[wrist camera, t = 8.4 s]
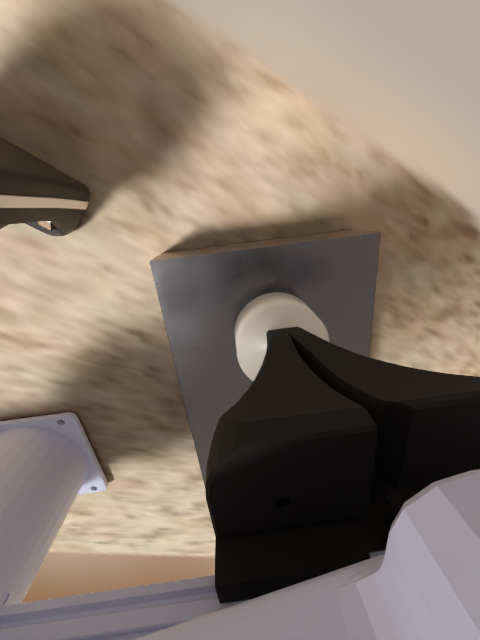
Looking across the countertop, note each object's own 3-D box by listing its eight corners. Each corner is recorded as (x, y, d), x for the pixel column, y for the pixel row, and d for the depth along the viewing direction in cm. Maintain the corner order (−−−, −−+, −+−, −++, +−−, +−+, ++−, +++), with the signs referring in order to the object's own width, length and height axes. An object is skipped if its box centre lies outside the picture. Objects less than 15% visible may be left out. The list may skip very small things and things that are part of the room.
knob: (236, 344, 16) (242, 393, 12) (228, 282, 15) (231, 312, 10) (298, 336, 16) (328, 382, 12) (297, 274, 15) (330, 299, 10)
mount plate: (220, 507, 24) (219, 546, 21) (163, 252, 15) (149, 261, 12) (337, 490, 24) (353, 526, 21) (351, 229, 15) (380, 232, 12)
